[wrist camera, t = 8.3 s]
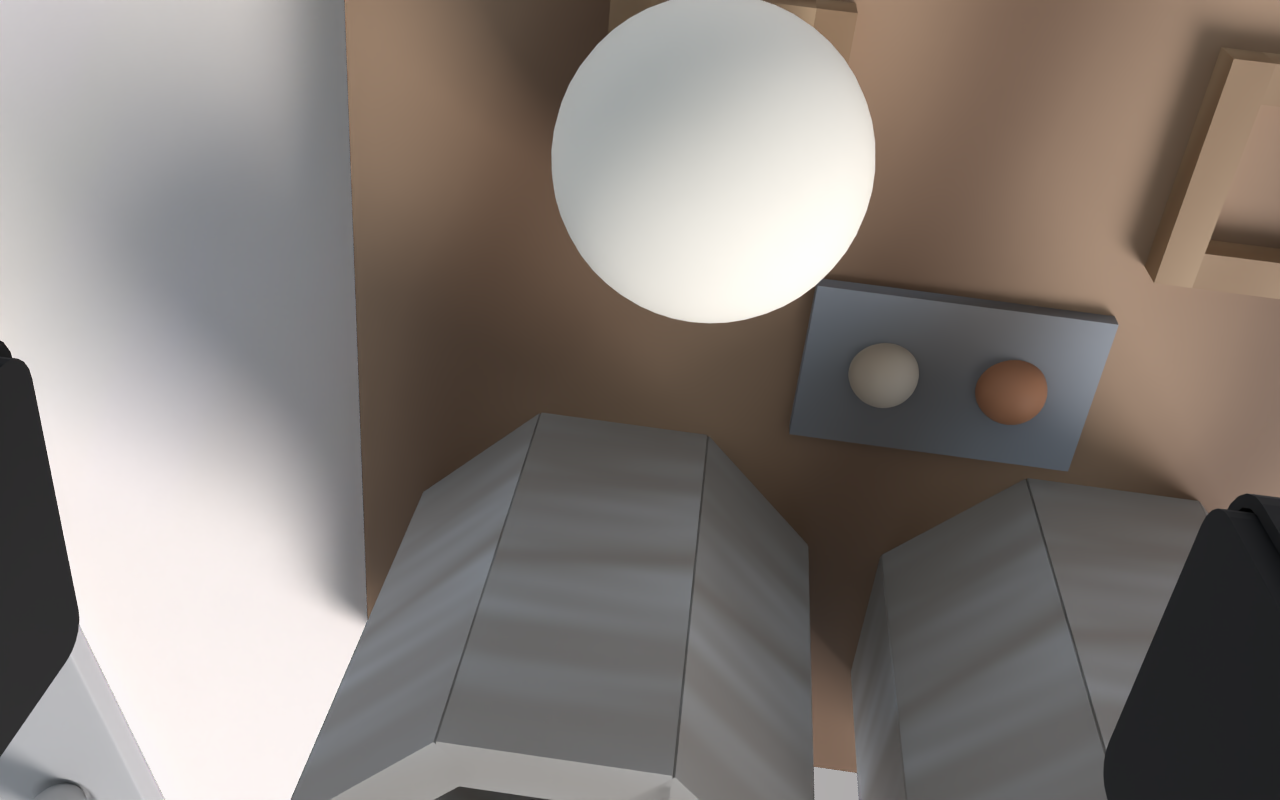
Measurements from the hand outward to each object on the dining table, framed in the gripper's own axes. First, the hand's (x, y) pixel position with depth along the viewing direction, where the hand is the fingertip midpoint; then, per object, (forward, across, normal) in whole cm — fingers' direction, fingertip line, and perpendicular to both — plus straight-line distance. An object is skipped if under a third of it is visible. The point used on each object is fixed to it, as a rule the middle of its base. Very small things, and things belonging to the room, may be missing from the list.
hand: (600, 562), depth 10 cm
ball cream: (+9, -1, 0) cm, 9 cm away
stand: (+13, -5, +5) cm, 15 cm away
